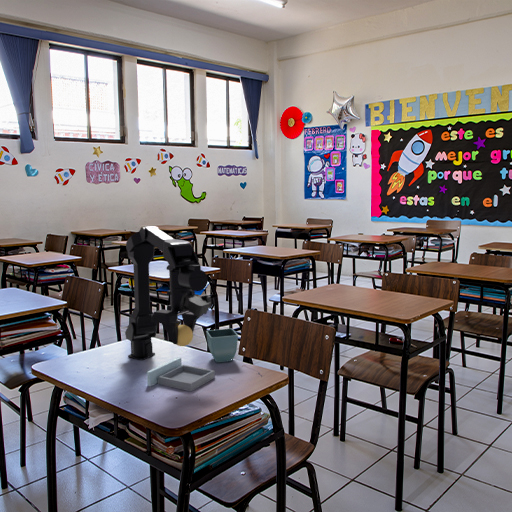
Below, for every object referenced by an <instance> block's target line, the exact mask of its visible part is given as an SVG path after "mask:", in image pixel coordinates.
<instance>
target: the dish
mask: <svg viewBox="0 0 512 512" xmlns="http://www.w3.org/2000/svg"><path fill="white" fill-rule="evenodd" d="M215 373H216V371H215V370H214V369H213V370H212V369H210V368H209V369H208V368H203V367H197V366H193V365H187V364H182V365H181V366H179V367H177V368H175V369H173V370H171V371H169V372H167V373H165V374H163V375H161V376H159V377H158V383H157V384H158V385H161V386H166V387H169V388H175V389H177V390H178V389H179V390H184V391H188V392H192V391H195V390H196V389H197V388H199V387H202V386H203V385H204V384H207V383H208V382H210V381H212V380H213V379H215V378H216V377H215V375H216V374H215Z"/></svg>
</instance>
